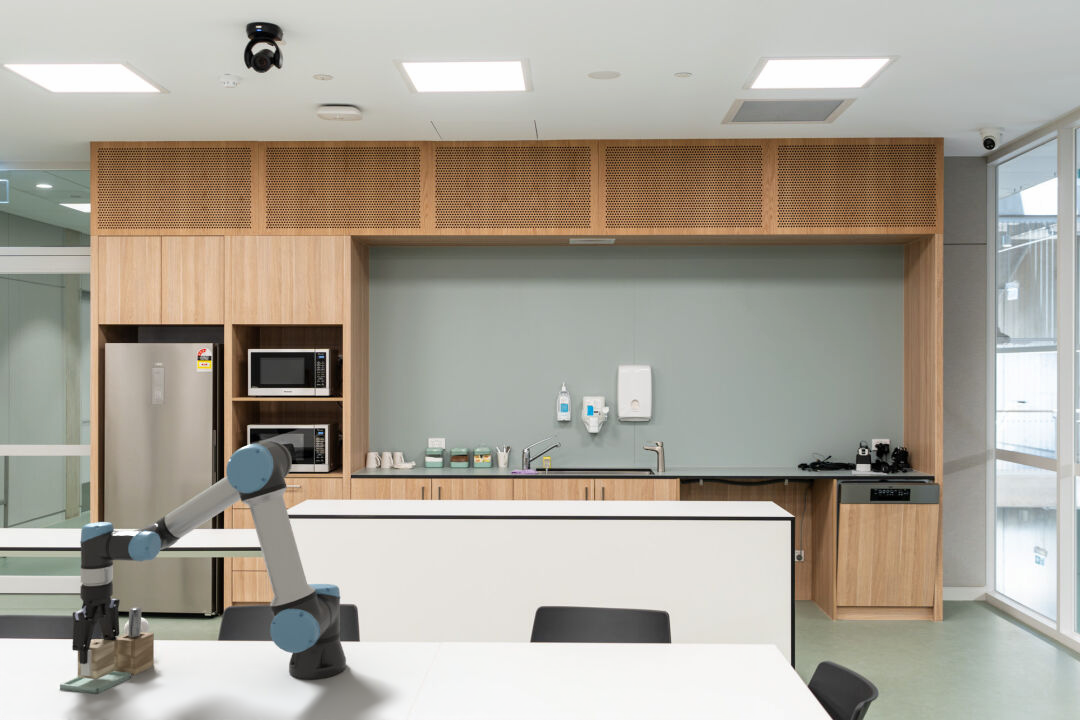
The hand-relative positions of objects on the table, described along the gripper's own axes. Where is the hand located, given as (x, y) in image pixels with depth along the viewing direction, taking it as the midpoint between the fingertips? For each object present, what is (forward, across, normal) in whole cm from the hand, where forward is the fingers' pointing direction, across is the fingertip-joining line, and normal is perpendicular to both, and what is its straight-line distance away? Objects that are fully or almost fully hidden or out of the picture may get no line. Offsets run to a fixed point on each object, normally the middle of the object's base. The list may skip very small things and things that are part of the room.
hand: (96, 670), depth 217 cm
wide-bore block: (+3, -11, +2) cm, 12 cm away
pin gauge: (+2, -11, +2) cm, 11 cm away
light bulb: (+3, -20, -5) cm, 21 cm away
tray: (+3, 0, 0) cm, 3 cm away
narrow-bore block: (+1, 0, 0) cm, 1 cm away
